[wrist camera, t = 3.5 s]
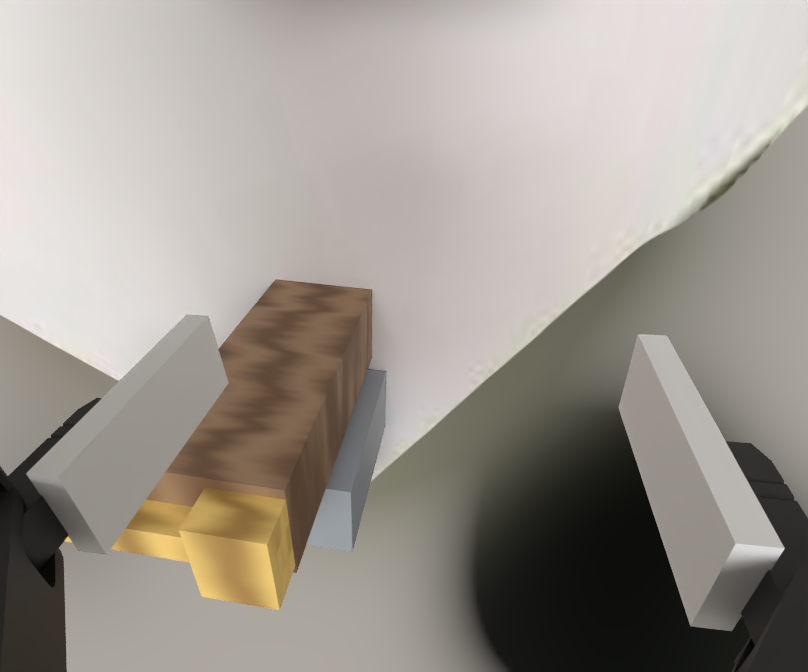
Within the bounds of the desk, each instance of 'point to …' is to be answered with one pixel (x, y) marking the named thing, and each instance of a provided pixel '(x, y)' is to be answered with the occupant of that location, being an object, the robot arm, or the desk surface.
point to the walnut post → (280, 403)
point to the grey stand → (352, 469)
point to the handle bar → (220, 543)
